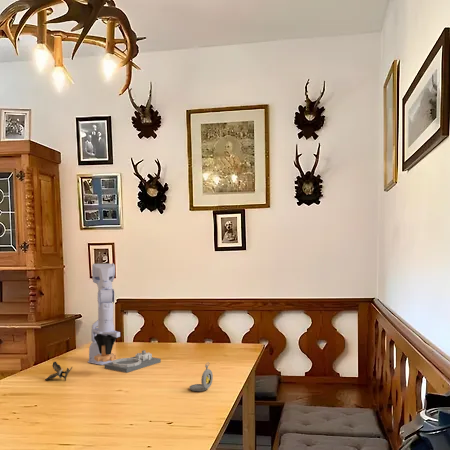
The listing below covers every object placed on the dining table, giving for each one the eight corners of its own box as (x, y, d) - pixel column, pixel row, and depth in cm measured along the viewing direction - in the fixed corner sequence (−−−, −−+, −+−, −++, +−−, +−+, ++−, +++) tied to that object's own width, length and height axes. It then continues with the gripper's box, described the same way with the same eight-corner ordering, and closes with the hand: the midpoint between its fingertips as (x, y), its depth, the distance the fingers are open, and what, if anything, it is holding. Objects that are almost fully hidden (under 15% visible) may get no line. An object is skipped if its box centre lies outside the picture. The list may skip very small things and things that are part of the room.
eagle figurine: (74, 373, 182) (54, 368, 184) (71, 361, 179) (51, 355, 180) (63, 389, 176) (42, 383, 178) (60, 376, 172) (39, 370, 174)
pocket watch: (189, 387, 168) (189, 359, 169) (212, 386, 169) (212, 358, 169) (189, 393, 160) (189, 364, 161) (213, 393, 161) (213, 364, 161)
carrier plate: (104, 368, 195) (104, 356, 195) (139, 358, 213) (139, 347, 213) (126, 372, 188) (126, 360, 188) (160, 362, 206) (160, 350, 206)
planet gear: (89, 360, 183) (90, 346, 184) (105, 355, 190) (106, 342, 191) (104, 362, 179) (104, 348, 179) (120, 358, 186) (120, 344, 186)
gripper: (85, 319, 186) (85, 353, 185) (110, 322, 178) (110, 357, 177) (99, 317, 192) (98, 350, 191) (124, 320, 184) (123, 354, 183)
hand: (105, 353), depth 185 cm, fingers closed on planet gear, 3 cm apart
